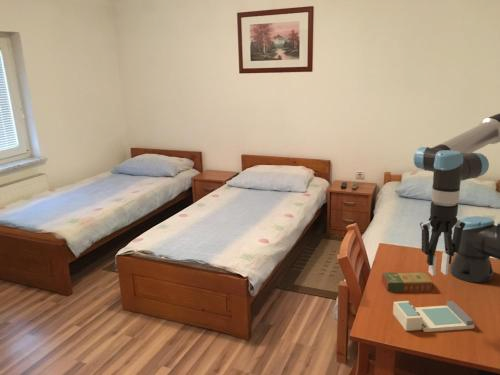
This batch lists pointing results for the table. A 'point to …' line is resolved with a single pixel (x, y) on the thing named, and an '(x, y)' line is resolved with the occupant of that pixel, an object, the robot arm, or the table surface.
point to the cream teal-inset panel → (444, 318)
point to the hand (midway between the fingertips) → (437, 273)
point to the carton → (406, 281)
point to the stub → (407, 315)
